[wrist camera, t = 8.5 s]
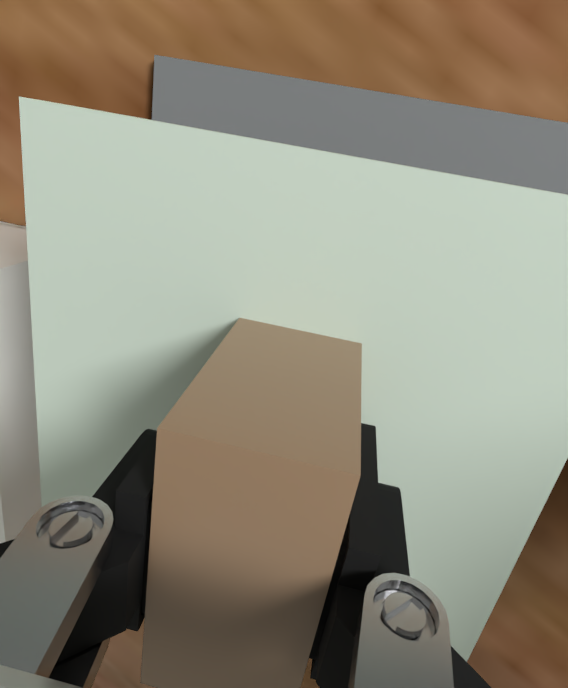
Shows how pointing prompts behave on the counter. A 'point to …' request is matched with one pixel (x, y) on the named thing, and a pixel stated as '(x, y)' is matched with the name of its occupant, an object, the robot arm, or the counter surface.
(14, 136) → the counter surface
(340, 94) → the mat
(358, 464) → the lid
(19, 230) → the storage box
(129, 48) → the counter surface
